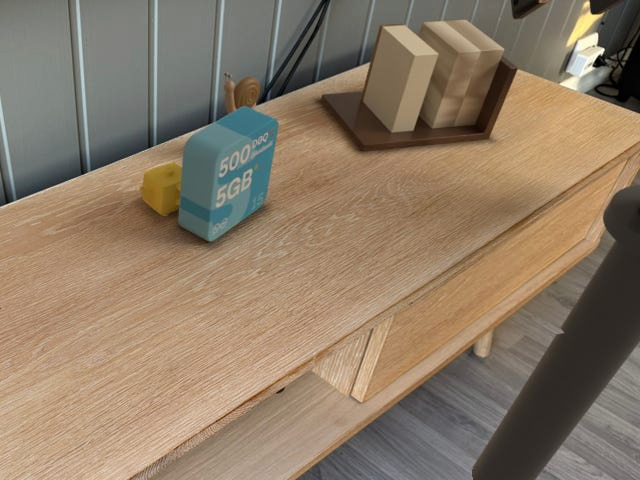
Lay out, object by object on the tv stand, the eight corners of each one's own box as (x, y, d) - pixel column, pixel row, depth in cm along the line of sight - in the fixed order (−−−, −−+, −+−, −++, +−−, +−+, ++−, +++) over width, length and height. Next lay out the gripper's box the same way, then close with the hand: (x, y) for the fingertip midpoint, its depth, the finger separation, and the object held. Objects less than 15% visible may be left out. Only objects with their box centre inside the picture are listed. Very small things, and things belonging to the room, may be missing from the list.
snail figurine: (203, 152, 97) (211, 65, 88) (236, 138, 100) (247, 52, 91) (231, 169, 94) (242, 81, 85) (264, 154, 97) (278, 68, 88)
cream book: (382, 97, 108) (403, 23, 100) (413, 130, 101) (439, 53, 93) (360, 99, 107) (379, 24, 99) (391, 132, 101) (414, 55, 93)
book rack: (437, 91, 112) (464, 12, 104) (488, 139, 103) (523, 56, 94) (320, 100, 109) (338, 19, 100) (362, 151, 99) (385, 66, 90)
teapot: (156, 231, 84) (157, 193, 80) (128, 207, 87) (129, 170, 83) (208, 209, 87) (212, 173, 84) (180, 187, 91) (182, 151, 87)
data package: (206, 247, 82) (216, 154, 74) (176, 230, 84) (182, 138, 76) (265, 204, 89) (281, 115, 80) (236, 190, 91) (249, 101, 82)
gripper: (792, -151, 53) (613, -36, 69) (630, -151, 50) (483, -31, 66) (801, -48, 53) (621, 43, 69) (641, -43, 50) (492, 51, 66)
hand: (554, 7), depth 67 cm, fingers open, 8 cm apart
